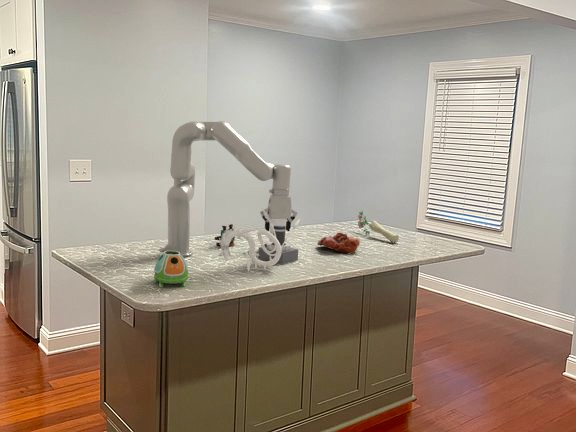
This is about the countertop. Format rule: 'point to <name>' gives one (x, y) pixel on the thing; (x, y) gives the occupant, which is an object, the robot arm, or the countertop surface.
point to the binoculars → (224, 233)
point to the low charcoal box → (286, 254)
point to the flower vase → (377, 229)
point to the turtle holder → (171, 268)
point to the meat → (340, 243)
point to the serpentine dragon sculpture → (239, 233)
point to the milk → (276, 222)
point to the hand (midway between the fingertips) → (277, 230)
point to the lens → (279, 233)
